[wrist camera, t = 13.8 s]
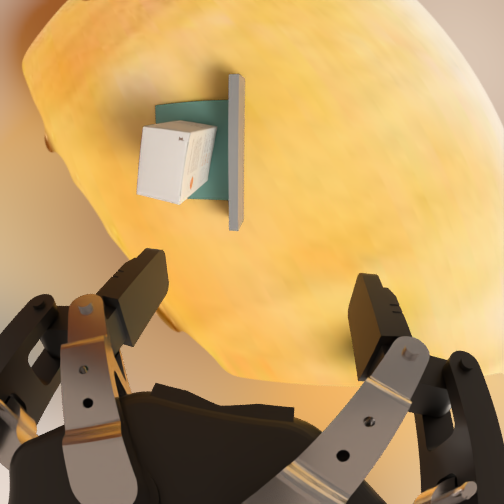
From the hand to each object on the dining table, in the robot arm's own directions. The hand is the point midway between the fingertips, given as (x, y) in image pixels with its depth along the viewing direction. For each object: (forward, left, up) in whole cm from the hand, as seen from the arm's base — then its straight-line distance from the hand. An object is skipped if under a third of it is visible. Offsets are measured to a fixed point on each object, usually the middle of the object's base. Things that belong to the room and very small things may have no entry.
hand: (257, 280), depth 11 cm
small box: (-2, -12, -27) cm, 30 cm away
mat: (-1, -12, -28) cm, 30 cm away
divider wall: (-2, -6, -28) cm, 28 cm away
